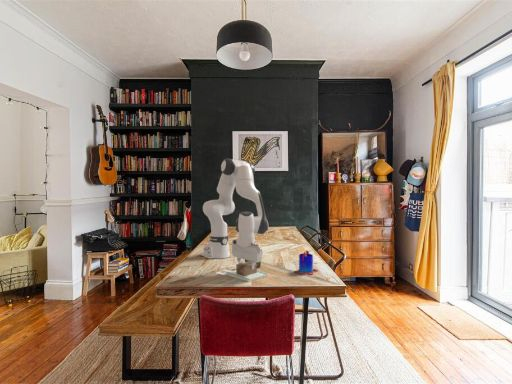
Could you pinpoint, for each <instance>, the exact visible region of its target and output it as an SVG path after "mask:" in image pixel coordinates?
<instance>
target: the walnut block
mask: <svg viewBox="0 0 512 384" xmlns="http://www.w3.org/2000/svg"><path fill="white" fill-rule="evenodd" d="M251 265H252V263H251V262H245V261H244V262H243V263H240V264H239V263H237V264H235V266H236V268H235V270H236V274H239V275H242V276H247V275H251V274H254V273H257V271H258V270H257V269H258V268H257V264H255V266H254V269H250V266H251Z"/></svg>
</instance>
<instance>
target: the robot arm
mask: <svg viewBox="0 0 512 384" xmlns="http://www.w3.org/2000/svg"><path fill="white" fill-rule="evenodd" d="M220 170H221V176H220V177H219V181H218V185H217V187H216V192H217V193H218V195H219V197H218V199H211V200H208V201H205V202H204V203H203V205H202V211H203V213H204V215H205V216H206V217H207V218H208V220H209V222H210V230H211V232H210V235H209V241H208V242H207V243H206V244H205V245H204V246H203V252H201V253H199V255H200V256H202V257H205V258H206V259H225V258H226V259H227V258H229V257H230V256H231V254H232V256H233V257H234V258H236V260H237V262H238V264H240V263H244V262H242V260H244V261H245V260H249V261H251V263H252V265H251V266H250V269H254V266H255V264H256V262H260V261H261V262H262V256H261V250H262V249H261V247H260V245H259V244H258V243H255V234H258V235H259V234H260V235H264V234H265V233H266V232H268V230H269V222H268V219H267V216H266V210H265V206H264V202H263V197H262V194H261V192H260V190H259V189H257V188H256V186H255V180H254V176H255V171H256V169H255V165H254V164H253V163H250V162H247V161H243V160H239V159H238V160H237V159H232V158H224V159H223V160H222V162H221V165H220ZM234 190H235V191H236V193H237V195H239V196H240V197H241V198H244V199H245V200H246V199H247V200H249V201H252V202H253V203H254V204H255V207H256V212H257V216H254V213H253V212H251V211H241V212H240V213H239V215H238V217H237V218H236V220H235V231H236V232H237V233H238V236H237V237H238V238H236V239H232V240H231V243H232V246H231V252H230V245H229V235H228V224H227V222H226V221H224V218H223V216H228V215H230V214H233V213H234V211H235V209H236V206H235V202H234V200H233V195H234Z"/></svg>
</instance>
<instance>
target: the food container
mask: <svg viewBox="0 0 512 384" xmlns="http://www.w3.org/2000/svg"><path fill="white" fill-rule="evenodd" d="M260 250H261V257H262V255H263V254H264V253H263V249H260ZM245 262H251V261H249V260H245V259H244V263H245ZM256 264H257V269H260V268H261V266H262V260H261V261H260V262H256Z"/></svg>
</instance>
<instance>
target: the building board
mask: <svg viewBox="0 0 512 384" xmlns="http://www.w3.org/2000/svg"><path fill="white" fill-rule="evenodd" d="M268 274H269V273H268V272H264V271H260V270H257V273H254V274H251V275H247V276H242V275H239V274H236V269H235V270H231V271H230V272H226V274H225V275H226V276H229V277H232V278H235V279H238V280H241V281H245V282H247V283H250V282H253V281H257V280H261V279H262V278H263V279H264V278H267V277H269V276H268Z"/></svg>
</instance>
